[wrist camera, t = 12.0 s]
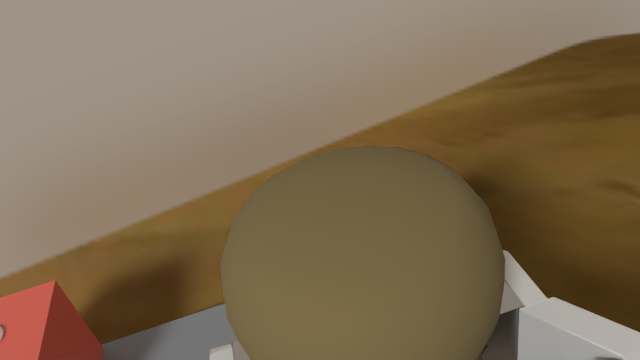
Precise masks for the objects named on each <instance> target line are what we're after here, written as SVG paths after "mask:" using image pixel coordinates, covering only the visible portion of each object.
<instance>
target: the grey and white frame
mask: <svg viewBox="0 0 640 360" xmlns="http://www.w3.org/2000/svg"><path fill="white" fill-rule="evenodd" d="M235 341H238V340H237V338H236V336H235V334H234V332H233V330H232V328H231V325H230V323H229V321H228V319H227V314H226V307H225V303H224V304H221V305H218V306H215V307H213V308H210V309H207V310H204V311H201V312H198V313H195V314H192V315H189V316H186V317H183V318H180V319H177V320H174V321H171V322H168V323H165V324H162V325H159V326H156V327H153V328H150V329H147V330H144V331H141V332H138V333H135V334H132V335H129V336H126V337H123V338H120V339H117V340H114V341H111V342H108V343H105V344H102V347H103V355H102V360H210V350H211V349H213V348H216V347H220V346H223V345H226V344H229V343H232V342H235Z"/></svg>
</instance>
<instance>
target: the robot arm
mask: <svg viewBox="0 0 640 360" xmlns="http://www.w3.org/2000/svg"><path fill="white" fill-rule="evenodd" d="M503 254H504V257H505V282H504V289H503V296H502V303H501V309H500V316H499V320H498V322H497V324H496V327H495V329H494V331H493V333H492V335H491V338H490V339H489V341H488V343H487V344H486V346H485V347H484V349H483V351H482V352H481V355H482V359H483V360H640V332H637V331H635V330H633V329H630V328H628V327H625V326H623V325H621V324H618V323H616V322H613V321H611V320H609V319H606V318H604V317H601V316H599V315H597V314H594V313H592V312H589V311H587V310H585V309H582V308H580V307H577V306H575V305H572V304H570V303H568V302H565V301H563V300H560V299H558V298H556V297H551V298H547V297H546V296H545V295H544V294H543V292H542V291H541V290H540V289H539V288H538V286H537V285H536V284H535V283H534V282H533V280H532V279H531V278H530V277H529V276H528V274H527V273H526V272H525V271H524V270H523V269H522V267H521V266H520V265H519V264H518V263H517V261H516V260H515V259H514V258H513V257H512V255H511V254H510V253H509V252H507V251H505V250H503ZM210 360H251V359H250V358H249V356H248V355H247V353H246V352H245V350H244V349H243V347H242V346H241V344H240V343H239V341H235V342H232V343H229V344H226V345H223V346H220V347H216V348H213V349H211V350H210Z"/></svg>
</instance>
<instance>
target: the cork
mask: <svg viewBox="0 0 640 360" xmlns="http://www.w3.org/2000/svg"><path fill="white" fill-rule="evenodd" d="M220 266H221V277H222V288H223V294H224V301H225V307H226V314H227V319H228V321H229V323H230V325H231V328H232V330H233V332H234V334H235V336H236V338H237V340H238V341H239V343H240V344H241V346H242V347H243V349H244V350H245V352H246V353H247V355H248V356H249V358H250V359H251V360H483V359H482V355H481V352H482V351H483V349H484V347H485V346H486V344H487V343H488V341H489V339H490V338H491V335H492V333H493V331H494V329H495V327H496V324H497V322H498V320H499V316H500V309H501V303H502V296H503V289H504V282H505V257H504V254H503V250H502V247H501V244H500V241H499V237H498V234H497V231H496V228H495V225H494V222H493V219H492V216H491V213H490V211H489V208H488V206H487V205H486V204H485V203H484V201H483V200H482V199H481V198H480V197H479V196H478V195H477V194H476V192H475V191H474V190H473V189H472V188H471V187H470V186H469V184H468V183H467V182H466V181H465V180H464V179H463V178H462V177H461V176H460V175H459V174H458V173H457V172H456V171H455V170H454V169H453V168H451V167H449V166H447V165H446V164H444V163H442V162H440V161H438V160H437V159H435V158H433V157H431V156H429V155H426V154H422V153H418V152H415V151H411V150H407V149H403V148H399V147H377V146H361V147H354V148H346V149H339V150H333V151H330V152H326V153H323V154H320V155H317V156H314V157H310V158H307V159H304V160H302V161H300V162H298V163H296V164H294V165H292V166H291V167H289V168H287V169H285V170H283V171H281V172H279V173H277V174H275V175H274V176H273V177H271V178H270V179H269V180H268V181H267V182H265V183H264V184H263V185H262V186H261V187H259V188H258V189H257V190H256V191H254V192H253V193H252V194H251V195H250V197H249V198H248V199H247V201H246V202H245V204H244V205H243V206H242V208H241V209H240V211H239V212H238V213H237V215H236V216H235V218H234V221H233V224H232V227H231V230H230V233H229V236H228V239H227V243H226V246H225V250H224V254H223V257H222V261H221V264H220Z"/></svg>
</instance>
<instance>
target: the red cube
mask: <svg viewBox="0 0 640 360" xmlns="http://www.w3.org/2000/svg"><path fill="white" fill-rule="evenodd" d="M102 355H103V347H102V345H101V344H100V343H99V341H98V340H97V338H96V337H95V336H94V334H93V333H92V331H91V330H90V328H89V327H88V326H87V324H86V323H85V321H84V320H83V319H82V317H81V316H80V314H79V313H78V312H77V310H76V309H75V307H74V306H73V304H72V303H71V302H70V300H69V299H68V297H67V296H66V295H65V293H64V292H63V290H62V289H61V288H60V286H59V285H58V283H57V282H56V281H55V280H54V281H51V282H48V283H45V284H42V285H39V286H36V287H32V288H29V289H26V290H23V291H20V292H17V293H14V294H11V295H8V296H4V297H1V298H0V360H102Z"/></svg>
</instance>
